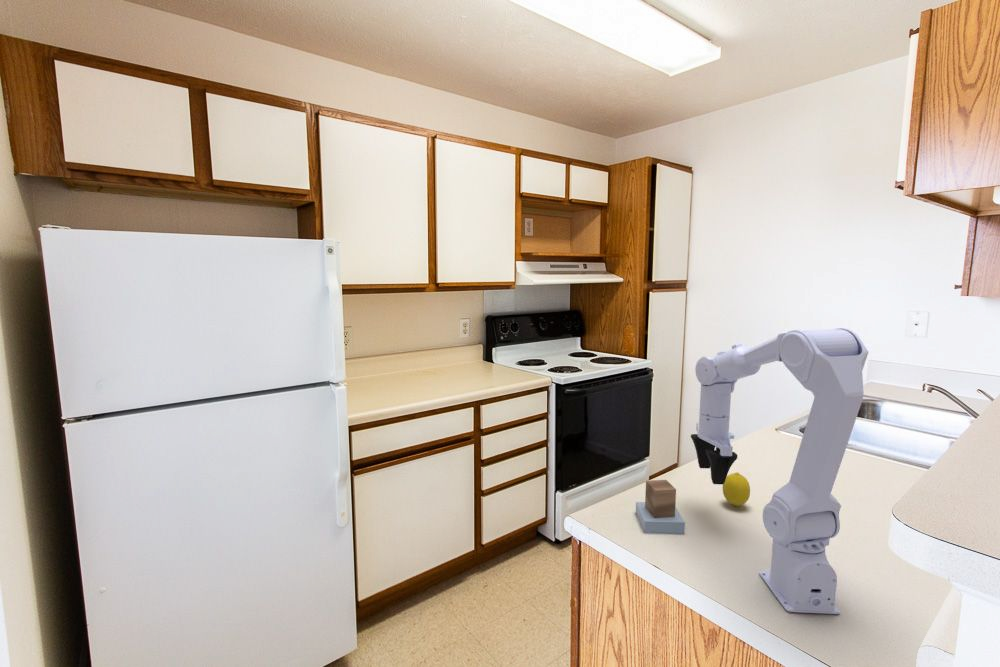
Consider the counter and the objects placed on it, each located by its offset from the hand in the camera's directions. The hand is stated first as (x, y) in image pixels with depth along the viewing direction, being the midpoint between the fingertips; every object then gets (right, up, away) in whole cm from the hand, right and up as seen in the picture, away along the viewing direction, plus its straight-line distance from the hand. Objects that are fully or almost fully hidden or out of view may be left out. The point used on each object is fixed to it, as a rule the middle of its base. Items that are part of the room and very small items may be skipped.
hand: (711, 475), depth 98 cm
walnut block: (-11, -8, 0) cm, 13 cm away
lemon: (+8, -9, +7) cm, 14 cm away
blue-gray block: (-11, -11, 0) cm, 15 cm away
